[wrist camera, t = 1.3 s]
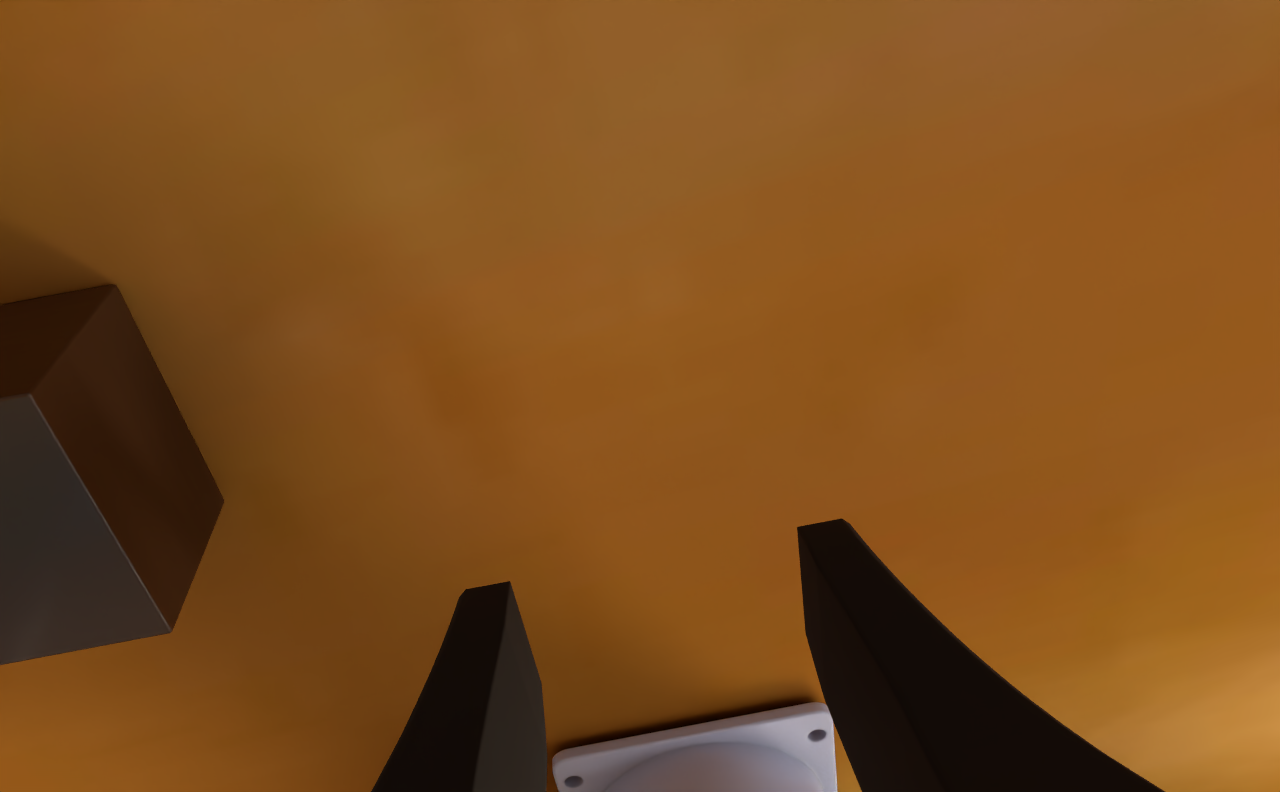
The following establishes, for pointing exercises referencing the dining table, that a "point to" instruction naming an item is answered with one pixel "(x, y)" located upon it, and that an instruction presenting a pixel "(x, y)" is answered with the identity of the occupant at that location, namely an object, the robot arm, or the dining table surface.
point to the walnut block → (92, 481)
